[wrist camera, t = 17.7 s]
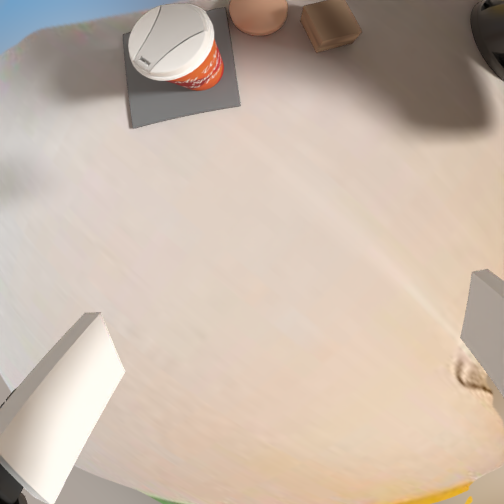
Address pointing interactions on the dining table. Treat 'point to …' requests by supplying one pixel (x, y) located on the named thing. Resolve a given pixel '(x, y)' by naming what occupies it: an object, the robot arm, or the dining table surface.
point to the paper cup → (176, 47)
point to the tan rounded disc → (258, 15)
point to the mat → (175, 96)
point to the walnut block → (329, 24)
